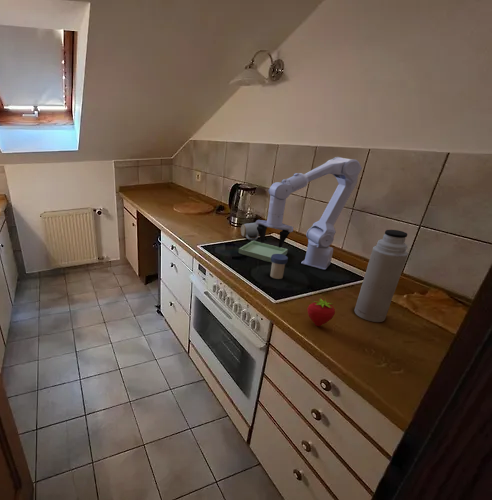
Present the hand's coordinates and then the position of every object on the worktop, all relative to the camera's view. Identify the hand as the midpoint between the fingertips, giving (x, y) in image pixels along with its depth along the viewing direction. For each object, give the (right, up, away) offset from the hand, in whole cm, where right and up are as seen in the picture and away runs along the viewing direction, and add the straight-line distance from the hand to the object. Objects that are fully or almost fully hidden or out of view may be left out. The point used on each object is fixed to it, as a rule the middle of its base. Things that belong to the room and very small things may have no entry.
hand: (271, 244), depth 124 cm
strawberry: (-1, -26, -34) cm, 42 cm away
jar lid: (0, -5, -8) cm, 10 cm away
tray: (+3, -4, +16) cm, 17 cm away
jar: (0, -13, -5) cm, 14 cm away
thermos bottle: (+18, -23, -30) cm, 42 cm away
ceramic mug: (+4, +4, +36) cm, 36 cm away
